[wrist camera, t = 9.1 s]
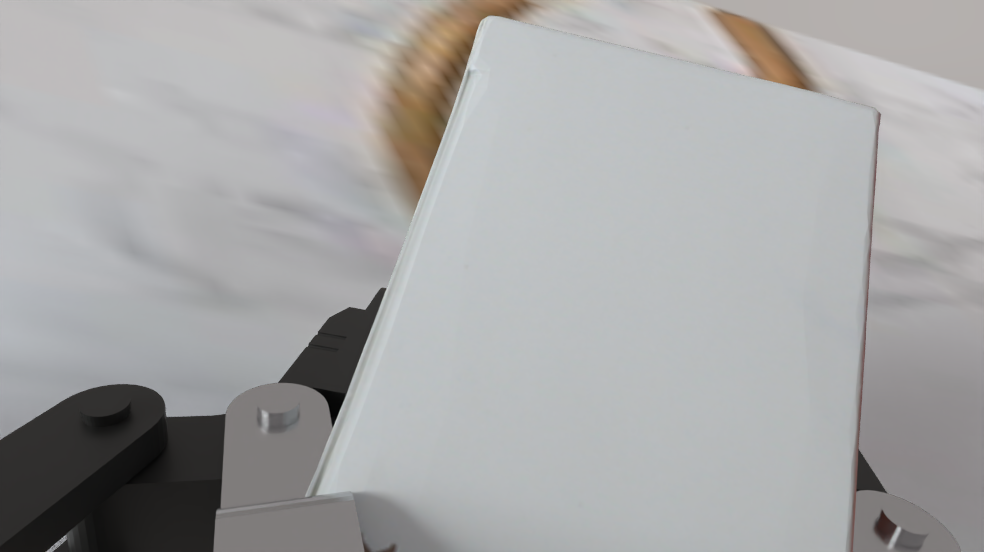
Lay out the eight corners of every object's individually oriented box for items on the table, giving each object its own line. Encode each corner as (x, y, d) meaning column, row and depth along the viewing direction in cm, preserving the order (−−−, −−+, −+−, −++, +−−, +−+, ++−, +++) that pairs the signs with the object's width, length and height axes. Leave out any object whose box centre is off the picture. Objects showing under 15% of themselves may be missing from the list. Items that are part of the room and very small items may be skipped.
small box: (611, 640, 15) (854, 860, 5) (388, 568, 16) (231, 642, 6) (671, 331, 18) (901, 96, 8) (482, 278, 18) (483, -3, 9)
